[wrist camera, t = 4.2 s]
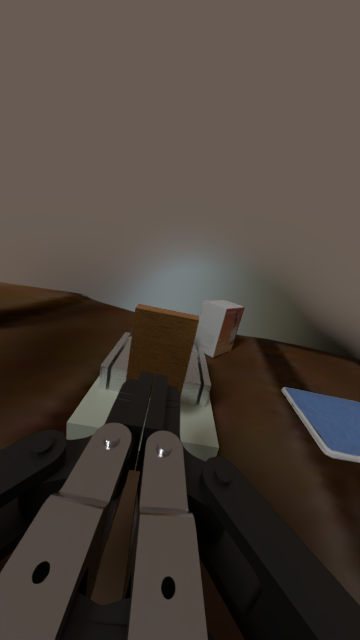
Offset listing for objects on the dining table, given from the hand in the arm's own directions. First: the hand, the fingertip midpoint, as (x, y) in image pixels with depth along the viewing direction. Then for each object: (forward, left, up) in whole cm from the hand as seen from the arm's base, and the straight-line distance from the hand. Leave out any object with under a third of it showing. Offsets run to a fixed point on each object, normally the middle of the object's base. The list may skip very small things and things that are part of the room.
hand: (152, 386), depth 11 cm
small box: (-14, +29, -11) cm, 35 cm away
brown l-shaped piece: (-9, +9, -6) cm, 13 cm away
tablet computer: (+12, +31, -12) cm, 35 cm away
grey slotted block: (-10, +11, -9) cm, 17 cm away
